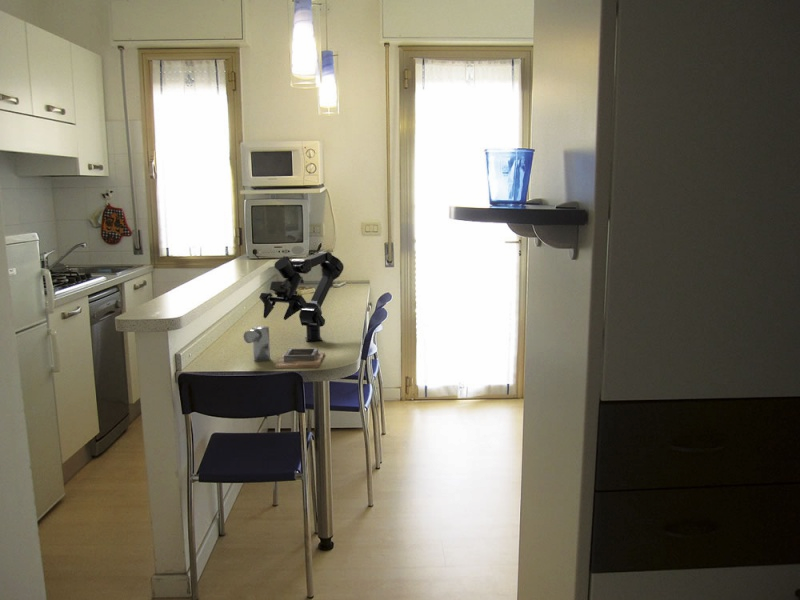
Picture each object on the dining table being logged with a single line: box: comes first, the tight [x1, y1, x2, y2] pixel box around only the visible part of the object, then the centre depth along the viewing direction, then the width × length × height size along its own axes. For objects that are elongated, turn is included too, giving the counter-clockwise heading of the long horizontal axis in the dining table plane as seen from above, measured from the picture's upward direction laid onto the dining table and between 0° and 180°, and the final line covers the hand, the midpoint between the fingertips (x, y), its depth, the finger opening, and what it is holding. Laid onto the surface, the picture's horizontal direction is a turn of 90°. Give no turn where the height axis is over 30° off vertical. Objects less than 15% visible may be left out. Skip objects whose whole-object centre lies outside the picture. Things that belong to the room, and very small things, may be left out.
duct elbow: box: [243, 325, 271, 363], centre depth 233 cm, size 10×6×12 cm, turn 154°
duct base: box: [275, 347, 325, 369], centre depth 233 cm, size 18×15×3 cm
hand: (274, 318), depth 241 cm, fingers open, 9 cm apart
